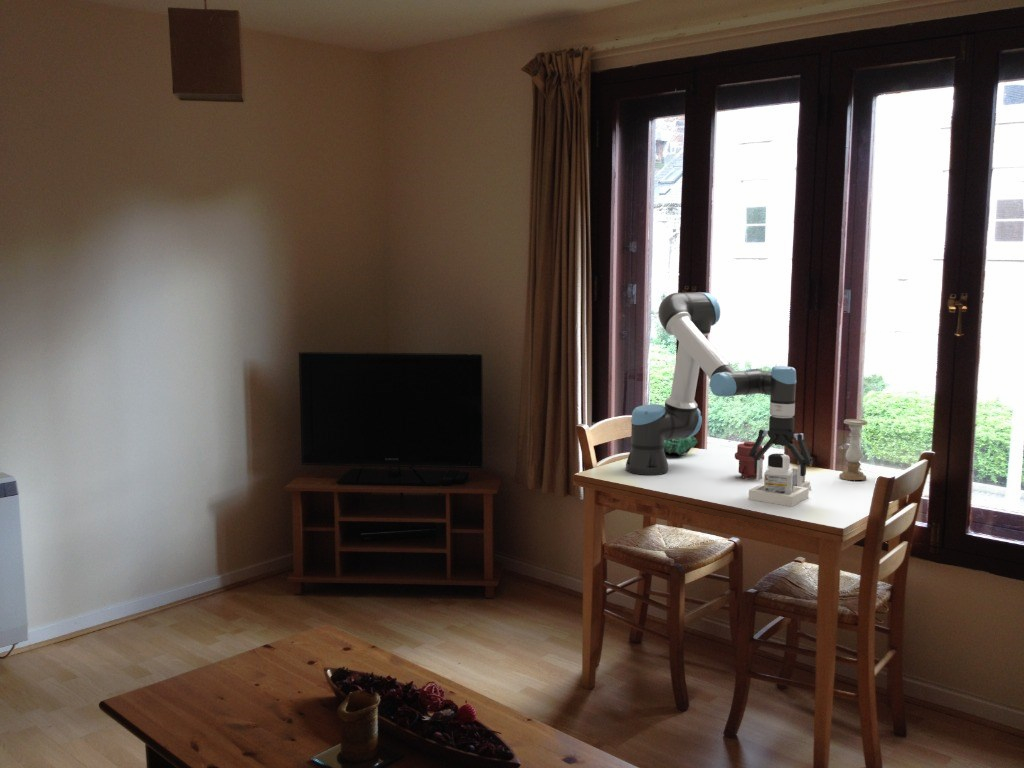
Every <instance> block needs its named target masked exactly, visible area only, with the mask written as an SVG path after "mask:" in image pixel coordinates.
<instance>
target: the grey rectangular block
mask: <svg viewBox="0 0 1024 768" xmlns="http://www.w3.org/2000/svg"><path fill="white" fill-rule="evenodd" d="M790 469H791V470H793V477H792V490H793V487H794V486H797V472H798V468H794V467H792V468H790ZM804 482H806V475H805V476H803V482H802V483H804Z"/></svg>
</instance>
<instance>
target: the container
mask: <svg viewBox="0 0 1024 768" xmlns="http://www.w3.org/2000/svg"><path fill="white" fill-rule="evenodd" d="M790 461H791V459H790V456H789V455H788V454H784V453H771V454H769V455H768V456H767V469H766V470H765V472H764V473H763V474H764V475H763V476H764V477H763V479H764V480H763V481H764V482H763V483H764V491H766V492H773V493H779V494H785V495H791V494H792V477H793V470H791V469H792V468H791V467H790V463H791V462H790Z"/></svg>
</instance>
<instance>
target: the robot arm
mask: <svg viewBox="0 0 1024 768" xmlns="http://www.w3.org/2000/svg"><path fill="white" fill-rule="evenodd" d="M720 316H721V307H720V303H719V302H718V299H717V298H716V296H714V295H713V294H711V293H710V292H701V291H698V292H696V291H695V292H694V291H692V292H674V293H671V294H669V295H667V296H665V298H663V299H662V301H661V302H660V305H659V306H658V319H659V322H660V325H661V326H662V328H663V330H664V331H666V333H667V334H669V335H671V336H673V337H675V339H676V340H677V341H678V346H677V347H678V348H677V352H676V353H677V355H676V358H675V359H676V360H675V364H674V373H673V379H672V385H671V390H670V396H669V397H667V398H666V399H665V401H664V402H665V403H664V405H663V404H656V403H655V404H654V403H652V404H651V403H650V404H643V405H639V406H636V407H634V408H633V410H632V411H631V412H632V413H631V419H630V423H631V429H630V431H631V432H630V433H631V434H630V435H631V438H630V440H631V441H630V443H631V444H630V451H629V454H628V456H627V460H626V462H625V470H626V471H627V472H629V473H632V474H636V475H643V476H644V475H646V476H649V475H650V476H655V475H657V476H658V475H664V474H667V473H668V472H669V462H668V459H667V457H666V453H665V452H664V440H670V439H680V438H682V439H684V438H687V437H691V436H693V437H694V436H695V435H697V434H698V433H699V431H700V429H701V427H702V423H703V417H702V412H701V410H700V409H699V408H698V403H697V402H696V400H695V397H696V390H697V385H698V379H699V375H700V369H702V371H703V373H704V374H705V375H707V377H708V378H709V388H710V391H711V393H713V395H714V396H716V397H725V398H727V397H728V398H729V397H733V396H734V397H735V396H745V395H756V394H757V395H758V394H760V395H766V396H769V399H770V400H769V415H770V416H768V417H769V419H768V420H769V422H768V430H767V429H766V428H762V429H759V430H758V435H757V438H756V440H755V444H754V446H753V447H752V449H751V451H750V453H749V457H752V458H754V460H755V462H754V468H755V469H757V478H756V481H760V480H762V479H763V465H764V464H763V462H764V460H763V459H760V458H761V457H762V456H763V454H764V455H765V453H766V452H767V451H768V450H769V449H770V448H771V447H772V446H773V445H774V446H782V447H786V448H788V449H789V451H790V452H791V453H792V455H793V456H794V457H795V459H796V461H797V463H798V464H799V465H797V469H798V472H797V487H800V486H802V482H803V476H805V477H806V474H807V466H810V465H812V464H813V463H814V462H813V459H812V456H811V454H810V451H809V449H808V445H807V443H806V441H805V434H804V433H802V432H801V433H795V417H794V416H795V415H796V414H795V413H796V388H797V382H798V381H797V370H796V368H794V367H793V366H784V365H779V366H777V365H776V366H772V368H771V371H770V370H769V371H767V370H762V369H758V368H748V369H746V370H745V371H743V370H742V371H736V370H735V369H734V368H733V367H732V366H731V365H730V364H729V363H728V362H727V361H726V359H725V358H724V357H723V356H722V355H721V354H720V353H719V351H718V350H717V349H716V348H715V346H714V345H713V344H712V343H711V342H710V341H709V340H708V339H707V338H706V336H708V335H709V334H711V329H712V328H711V327H712V326H714V325H716V324H717V323H718V322H719V320H720ZM767 436H768V437H769V439H768V441H767V442H766V444H764V446H762V443H763V442H764V438H765V437H767ZM794 438H795V440H796V441H797V444H798V445H799V449H800V451H801V452H800V451H799V449H798V447H797V446H796V443H795V442H794ZM760 445H761V446H762V449H761V450H760V451H759V452H758V453H757V454H756V452H757V451H758V449H759V447H760Z"/></svg>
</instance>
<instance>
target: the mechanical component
mask: <svg viewBox="0 0 1024 768" xmlns="http://www.w3.org/2000/svg"><path fill="white" fill-rule="evenodd" d="M755 442H756V441H755ZM755 442H754V441H744V443H738V444H737V448H736V449H737V452H735V453H734V459H735V460H737V461H738V473H739V474H740V475H741V476H742V478H743V479H744V480H749V479H757V469H755V468H754V462H755V460H754V458H752V457H749V453H750V451H751V449H752V447H753V446H754V444H755ZM762 448H763V446H762V444H761V445H760V447H759V449H758V451H757V452H756V454H757V453H758V452H759V451H760V450H761V449H762ZM760 459H763V461H764V460H765V453H764V454H763V456H762V457H761V458H760Z"/></svg>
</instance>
